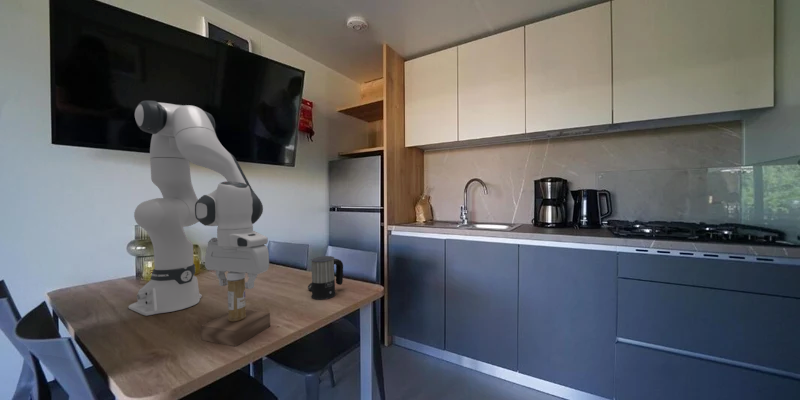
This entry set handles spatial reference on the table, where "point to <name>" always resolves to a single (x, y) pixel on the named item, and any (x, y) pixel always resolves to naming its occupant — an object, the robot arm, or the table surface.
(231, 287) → the sprinkles bottle
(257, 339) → the table surface
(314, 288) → the milk frother
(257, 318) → the walnut pedestal
